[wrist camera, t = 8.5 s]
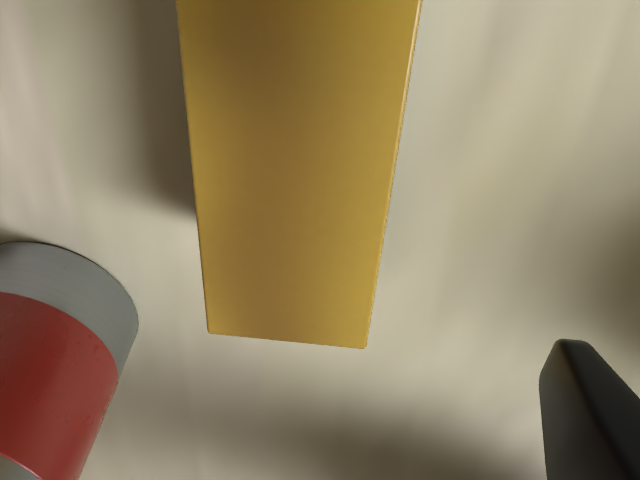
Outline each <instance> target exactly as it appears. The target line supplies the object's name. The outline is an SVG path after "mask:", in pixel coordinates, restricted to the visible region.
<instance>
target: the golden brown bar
mask: <svg viewBox="0 0 640 480" xmlns="http://www.w3.org/2000/svg"><path fill="white" fill-rule="evenodd" d="M175 3H176V13H177V23H178V33H179V44H180V54H181V64H182V74H183V84H184V95H185V105H186V115H187V125H188V135H189V146H190V156H191V166H192V176H193V186H194V197H195V207H196V217H197V227H198V237H199V248H200V258H201V268H202V278H203V288H204V299H205V309H206V319H207V329H208V333H210V334H220V335H230V336H240V337H250V338H260V339H270V340H279V341H289V342H299V343H309V344H319V345H329V346H339V347H349V348H359V349H365V347H366V345H367V339H368V333H369V326H370V320H371V314H372V308H373V302H374V296H375V289H376V283H377V277H378V271H379V265H380V259H381V253H382V246H383V240H384V234H385V228H386V222H387V216H388V209H389V203H390V197H391V191H392V185H393V179H394V172H395V166H396V160H397V154H398V148H399V142H400V136H401V129H402V123H403V117H404V111H405V105H406V99H407V92H408V86H409V80H410V74H411V68H412V62H413V55H414V49H415V43H416V37H417V31H418V25H419V18H420V12H421V6H422V0H175Z"/></svg>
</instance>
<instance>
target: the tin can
mask: <svg viewBox="0 0 640 480" xmlns="http://www.w3.org/2000/svg"><path fill="white" fill-rule="evenodd" d="M137 331H138V315H137V312H136V308H135V306H134V304H133V301H132V299H131V298H130V296H129V295H128V293H127V292H126V290H125V289H124V288H123V287H122V286H121V284H120V283H119V282H118V281H117V280H116V279H114V278H113V277H112V276H111V275H110V274H109V273H107V272H106V271H105V270H104V269H102V268H101V267H99V266H98V265H96V264H95V263H93V262H91V261H89V260H88V259H86V258H84V257H82V256H80V255H77V254H75V253H73V252H70V251H68V250H65V249H62V248H59V247H55V246H51V245H46V244H40V243H33V242H12V243H5V244H0V480H79V477H80V475H81V472H82V470H83V467H84V465H85V463H86V460H87V458H88V455H89V453H90V450H91V448H92V446H93V443H94V441H95V438H96V436H97V433H98V431H99V428H100V426H101V424H102V421H103V419H104V416H105V414H106V411H107V409H108V407H109V404H110V402H111V399H112V397H113V394H114V392H115V389H116V386H117V383H118V379H119V376H120V374H121V371H122V369H123V366H124V364H125V362H126V359H127V357H128V354H129V352H130V349H131V347H132V345H133V342H134V340H135V337H136V334H137Z"/></svg>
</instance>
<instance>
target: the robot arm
mask: <svg viewBox="0 0 640 480" xmlns="http://www.w3.org/2000/svg"><path fill="white" fill-rule="evenodd" d="M539 394H540V405H541V417H542V429H543V440H544V452H545V463H546V473H547V480H640V399H639V397H638V396H637V395H636V394H635V393H634V392H633V391H632V390H631V389H630V388H629V387H628V385H627V384H626V383H625V382H624V381H623V380H622V379H621V378H620V377H619V376H618V374H617V373H616V372H615V371H614V370H613V369H612V368H611V367H610V366H609V365H608V364H607V362H606V361H605V360H604V359H603V358H602V357H601V356H600V355H599V354H598V353H597V351H596V350H595V349H594V348H593V347H592V346H591V345H590V344H588V343H587V342H585V341H580V340H570V339H559V340H557V341H556V342H555V344H554V345H553V348H552V350H551V352H550V354H549V356H548V358H547V360H546V362H545V364H544V366H543V369H542V371H541V373H540V378H539Z"/></svg>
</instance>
